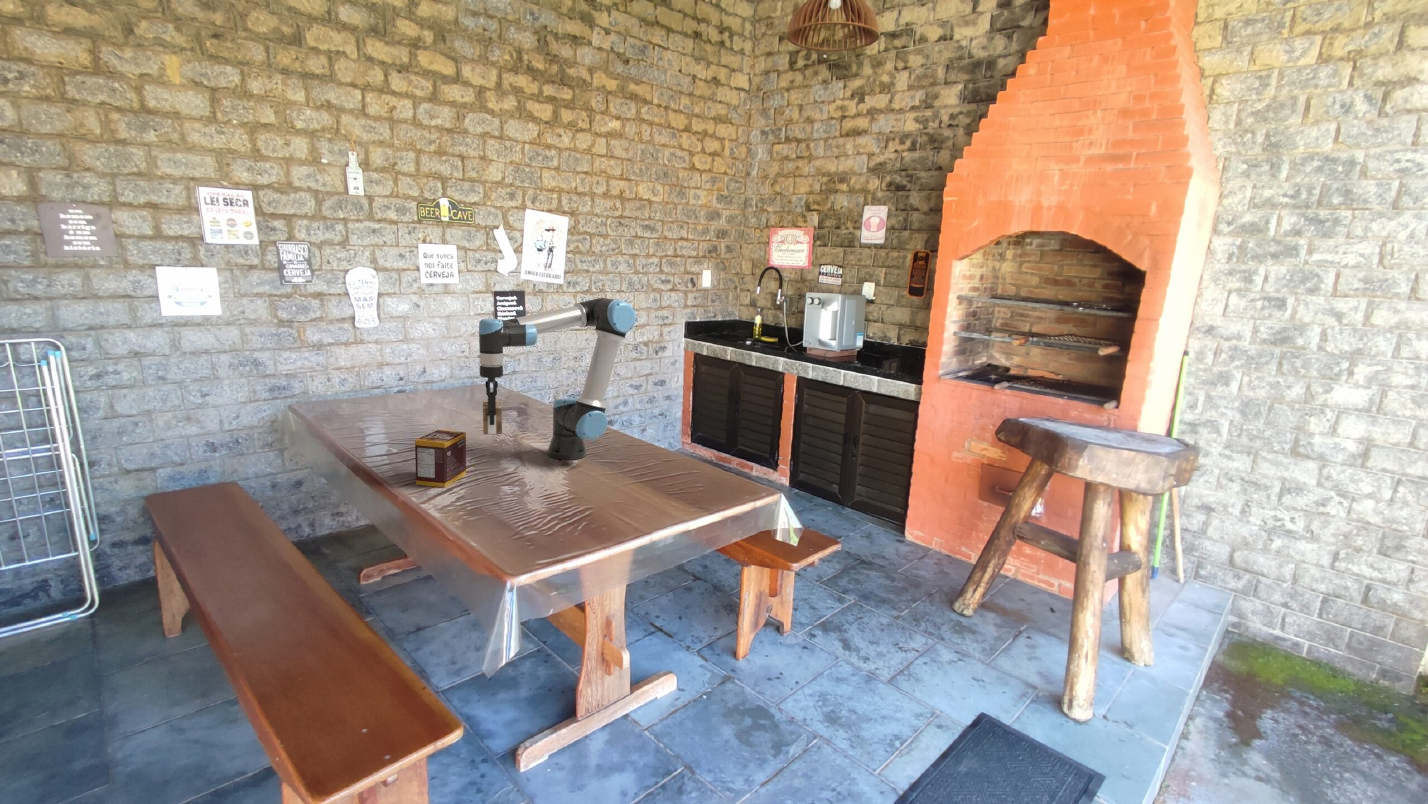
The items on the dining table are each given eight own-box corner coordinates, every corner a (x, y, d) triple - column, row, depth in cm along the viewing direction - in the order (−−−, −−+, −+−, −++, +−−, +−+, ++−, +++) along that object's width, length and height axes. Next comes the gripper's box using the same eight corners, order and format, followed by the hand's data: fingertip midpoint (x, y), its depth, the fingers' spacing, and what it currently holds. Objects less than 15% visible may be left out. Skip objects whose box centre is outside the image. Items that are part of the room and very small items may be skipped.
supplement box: (466, 474, 232) (466, 431, 229) (445, 488, 217) (444, 442, 214) (438, 471, 233) (438, 428, 230) (415, 484, 218) (414, 439, 215)
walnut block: (502, 429, 230) (501, 401, 228) (502, 433, 224) (501, 405, 222) (483, 429, 228) (482, 402, 226) (483, 434, 222) (482, 405, 220)
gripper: (480, 360, 229) (481, 424, 234) (478, 369, 211) (480, 438, 216) (502, 360, 231) (503, 423, 236) (503, 369, 214) (503, 438, 218)
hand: (492, 430), depth 226 cm, fingers closed on walnut block, 6 cm apart
